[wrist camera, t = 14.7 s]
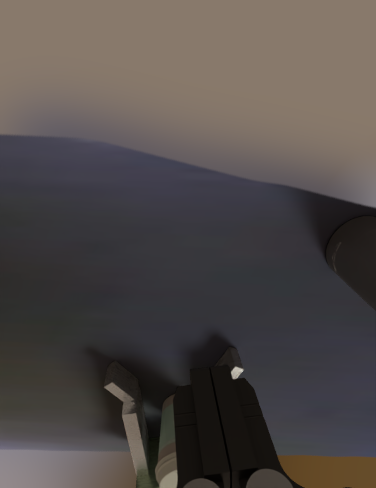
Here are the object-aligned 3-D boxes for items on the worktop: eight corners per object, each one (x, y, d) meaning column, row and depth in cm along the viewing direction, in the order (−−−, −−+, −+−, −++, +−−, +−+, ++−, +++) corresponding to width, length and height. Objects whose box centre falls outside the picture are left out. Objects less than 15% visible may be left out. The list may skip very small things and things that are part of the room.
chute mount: (237, 345, 47) (251, 389, 40) (236, 431, 57) (247, 479, 50) (107, 361, 46) (98, 409, 39) (127, 446, 55) (123, 497, 48)
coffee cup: (213, 405, 53) (228, 483, 42) (173, 427, 54) (178, 507, 44) (185, 379, 50) (195, 456, 39) (144, 403, 51) (142, 484, 40)
